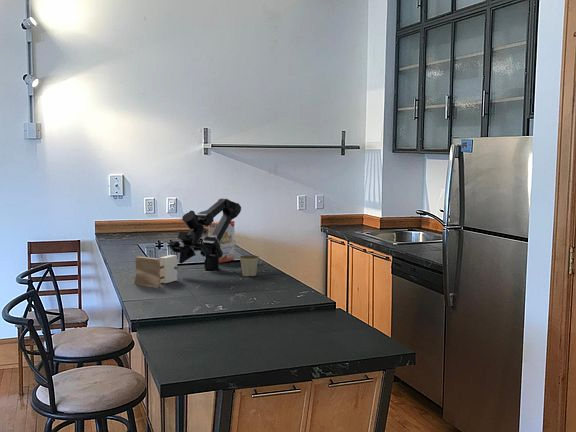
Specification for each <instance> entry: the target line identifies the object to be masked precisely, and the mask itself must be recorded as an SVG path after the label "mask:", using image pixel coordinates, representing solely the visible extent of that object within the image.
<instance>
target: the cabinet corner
mask: <svg viewBox="0 0 576 432" xmlns="http://www.w3.org/2000/svg"><path fill="white" fill-rule="evenodd" d="M162 268H164V266H160V258H156V257H147V256H136V257H135V276H134V284H135V285H136V286H142V287H147V288H148V287H149V288H155V289H157V288H161V283H160V279H163V278H164V276H162V277H160V269H162Z"/></svg>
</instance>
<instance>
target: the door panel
mask: <svg viewBox="0 0 576 432" xmlns="http://www.w3.org/2000/svg"><path fill="white" fill-rule="evenodd" d="M159 259H160V266H164V268H162V269H160V277H162V276H164V278H163V279H160V284H167V283H168V284H169V283H172V282H175V281H178V269H179V266H178V256H177V255H175V254H169V255H165V256H161V257H159Z"/></svg>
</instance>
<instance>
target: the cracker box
mask: <svg viewBox="0 0 576 432" xmlns="http://www.w3.org/2000/svg"><path fill="white" fill-rule="evenodd" d="M219 221H220V220H218V221H213V222H212V223H211V225H209V226H207V227H208V231H207V233H208V236H207V237H210V236H211V235H212V233H213V232H214V230H215V228H216V226H217V225H218V223H219ZM220 249H221V250H222V252H223V255H222V257H221V258H219V264H221V263H226V262H232V261H231V260H233V261H234V260H235V220H231V222H230V224H229V226H228V227H227V229H226V231H225V233H224V235H223V237H222V238H221V240H220Z"/></svg>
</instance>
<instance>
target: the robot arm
mask: <svg viewBox="0 0 576 432" xmlns="http://www.w3.org/2000/svg"><path fill="white" fill-rule="evenodd" d="M241 211H242V206H241V205H240V203H238V202H235V201H233V200H230V199H228V198H219V199H217V201H216V202H215V203H214V204H213V205H211V206H210V207H209V208H208V209H205V210H202V211H199V212H198V213H196V212H195V211H194V210H189V212H187V213H185V214H184V215H182V218H181V220H182V221H183V223H184V224H185V225H186V228H187V229H188V230H189V232H188V231H179V232H178V234H177V239H179V240H181V241H180V242H181V243H180V242H179V241H177V240H170V241H169V243H168V246H169V248H170V250H171V251H172V253H178V254H179V261H178V263H179V264H183V263H184V262H186V261H188V260H189V259H191V258H192V257H194V256H197V254H196V253H197V252H200V253H199V254H200V255H201V256H202V257H205V259H204V269H205V271H219V270H220V263H219V258H221V257H222V255H223V252H222V250H221V249H220V240H221V238H222V237H223V235H224V233H225V231H226V229H227V227H228V226H229V224H230V222H231V221H233V220H234V219H235V218H237V217H238V216H239V215H240V214H241ZM221 212H222V216H221V218H220V219H219V220H218V221H219V223H218V225H217V226H216V228H215V230H214V232H213V233H212V235H211V236H210V237H208V236H205V237H204V239H203V241H202V242H201V238H202V237H203V235H207V230H206V228H205V227H208V226H209V225H211V223H212V222H215V221H214V219H215V217H216V216H218V215H219V214H221Z"/></svg>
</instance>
